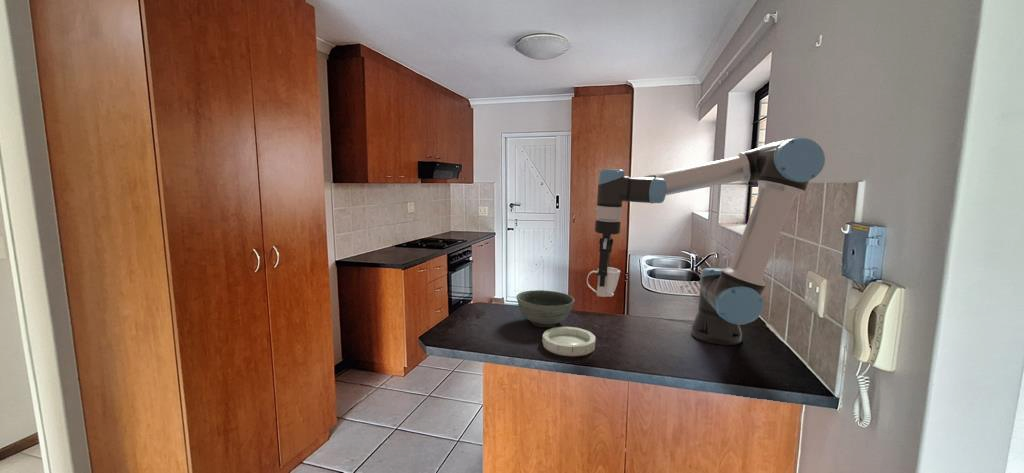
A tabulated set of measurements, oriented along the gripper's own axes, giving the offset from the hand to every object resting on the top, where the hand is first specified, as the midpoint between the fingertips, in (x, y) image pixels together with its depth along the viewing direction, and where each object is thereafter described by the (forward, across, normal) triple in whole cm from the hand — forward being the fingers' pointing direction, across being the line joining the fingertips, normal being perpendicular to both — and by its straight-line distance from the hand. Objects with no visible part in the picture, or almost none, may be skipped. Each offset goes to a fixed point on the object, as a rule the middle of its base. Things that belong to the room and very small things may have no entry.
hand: (602, 292), depth 128 cm
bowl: (+17, -11, -20) cm, 28 cm away
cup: (0, 0, 0) cm, 0 cm away
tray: (+16, +6, -9) cm, 19 cm away
